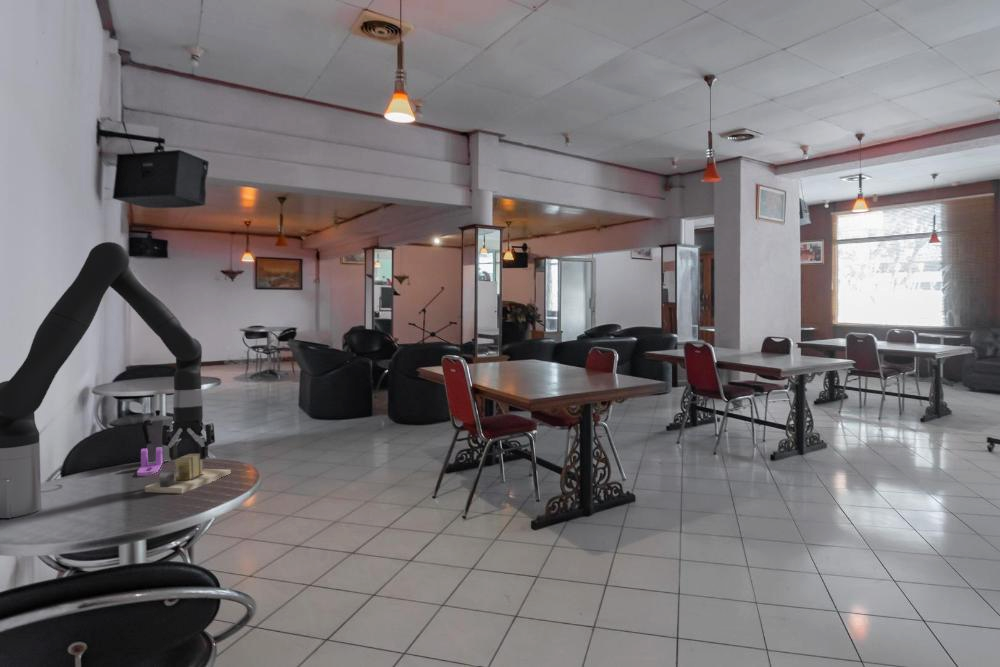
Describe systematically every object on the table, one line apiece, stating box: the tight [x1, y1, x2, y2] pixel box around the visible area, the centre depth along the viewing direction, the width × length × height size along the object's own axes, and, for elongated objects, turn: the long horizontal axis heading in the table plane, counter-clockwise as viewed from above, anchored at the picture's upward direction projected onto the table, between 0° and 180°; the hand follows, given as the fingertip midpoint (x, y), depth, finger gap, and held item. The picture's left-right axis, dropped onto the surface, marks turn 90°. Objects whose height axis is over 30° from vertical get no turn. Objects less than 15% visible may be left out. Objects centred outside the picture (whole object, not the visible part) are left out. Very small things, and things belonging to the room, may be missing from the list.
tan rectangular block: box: [174, 453, 202, 480], centre depth 162 cm, size 7×4×6 cm, turn 1°
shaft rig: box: [144, 459, 232, 494], centre depth 162 cm, size 20×12×6 cm, turn 169°
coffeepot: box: [141, 409, 174, 462], centre depth 190 cm, size 15×9×18 cm, turn 4°
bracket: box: [136, 447, 164, 477], centre depth 177 cm, size 13×6×7 cm, turn 24°
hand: (188, 459), depth 162 cm, fingers open, 8 cm apart
